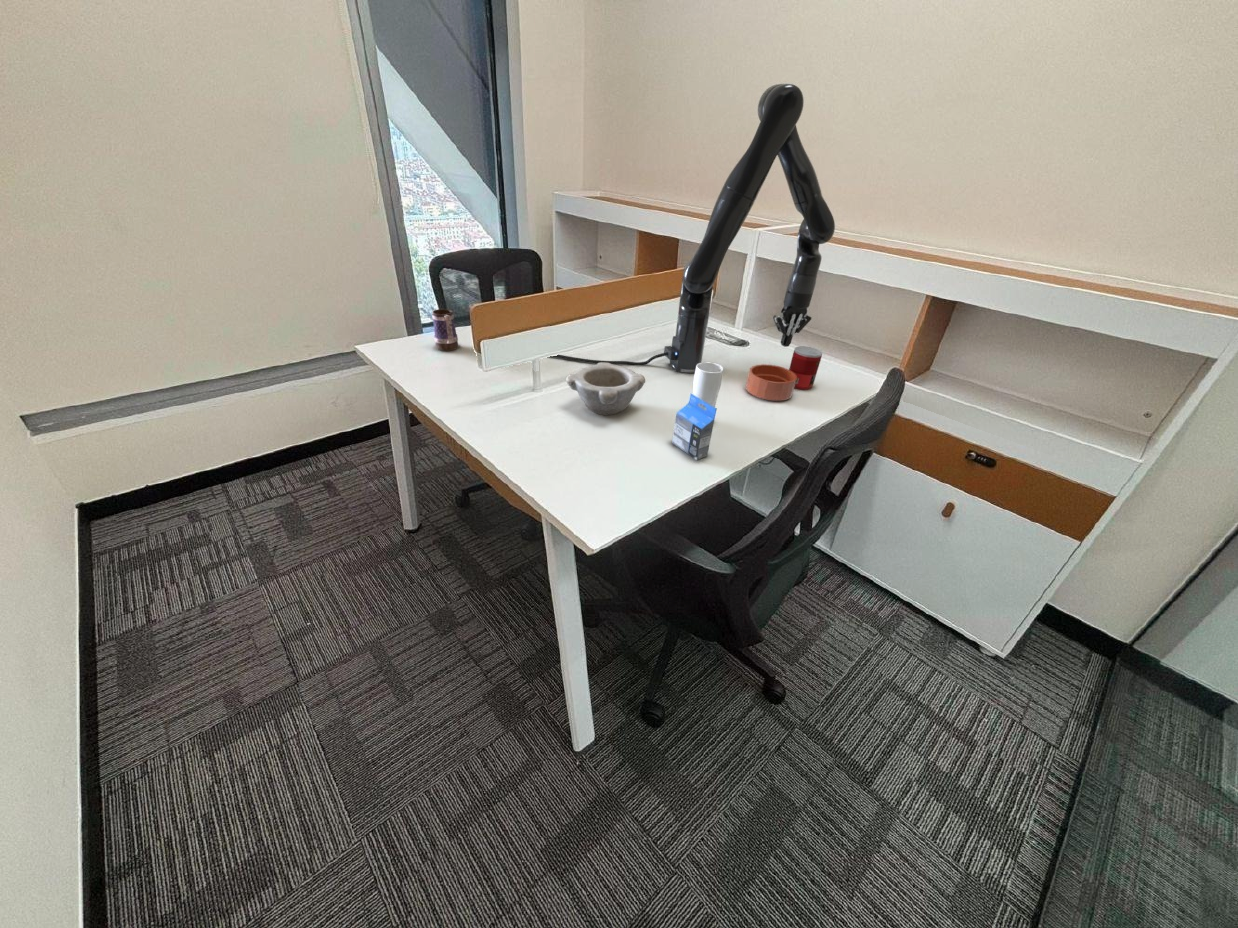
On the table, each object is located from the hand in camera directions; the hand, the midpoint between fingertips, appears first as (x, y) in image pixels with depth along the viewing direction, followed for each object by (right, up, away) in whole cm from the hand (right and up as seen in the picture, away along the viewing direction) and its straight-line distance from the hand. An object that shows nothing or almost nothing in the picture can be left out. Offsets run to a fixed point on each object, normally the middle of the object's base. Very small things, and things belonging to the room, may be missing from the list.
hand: (784, 345), depth 156 cm
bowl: (-8, -16, -9) cm, 20 cm away
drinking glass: (-31, -26, -27) cm, 49 cm away
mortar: (-56, -22, -23) cm, 64 cm away
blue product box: (-35, -34, -39) cm, 63 cm away
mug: (-107, 0, +4) cm, 107 cm away
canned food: (+3, -13, -3) cm, 14 cm away
